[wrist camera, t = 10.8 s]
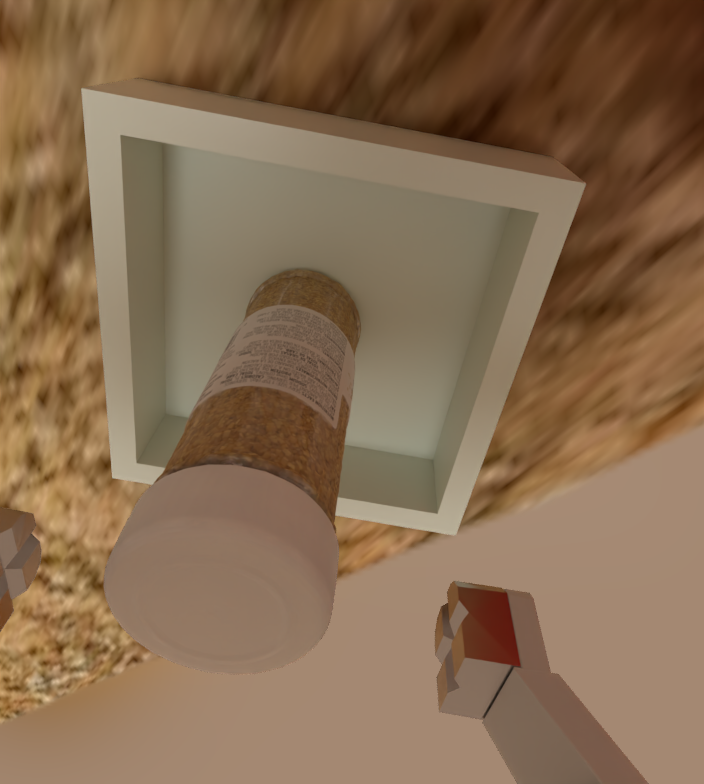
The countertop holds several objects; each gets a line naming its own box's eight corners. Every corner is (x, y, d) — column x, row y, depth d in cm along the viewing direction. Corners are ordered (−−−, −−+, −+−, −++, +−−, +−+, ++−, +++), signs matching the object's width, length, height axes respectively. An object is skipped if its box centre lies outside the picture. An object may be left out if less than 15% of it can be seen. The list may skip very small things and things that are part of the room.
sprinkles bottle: (322, 389, 24) (259, 709, 13) (226, 332, 23) (62, 628, 12) (386, 307, 22) (379, 603, 11) (283, 239, 21) (151, 490, 9)
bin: (137, 77, 19) (81, 87, 15) (552, 156, 19) (586, 183, 16) (148, 420, 26) (112, 477, 23) (448, 472, 27) (455, 535, 23)
